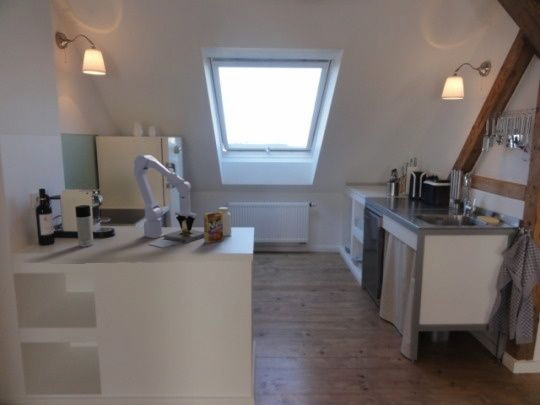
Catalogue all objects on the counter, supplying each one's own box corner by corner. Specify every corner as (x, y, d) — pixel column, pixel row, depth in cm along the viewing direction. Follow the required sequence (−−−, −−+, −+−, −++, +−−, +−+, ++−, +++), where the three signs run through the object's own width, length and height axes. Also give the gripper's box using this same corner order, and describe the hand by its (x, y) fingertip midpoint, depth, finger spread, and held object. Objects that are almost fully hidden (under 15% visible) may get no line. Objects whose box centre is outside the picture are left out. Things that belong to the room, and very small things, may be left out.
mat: (149, 245, 189) (149, 244, 189) (165, 240, 198) (165, 239, 198) (163, 248, 184) (163, 247, 184) (178, 243, 192) (178, 242, 192)
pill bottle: (219, 237, 203) (218, 209, 200) (214, 233, 210) (213, 207, 207) (233, 235, 206) (233, 208, 204) (228, 232, 213) (227, 206, 211)
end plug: (180, 235, 203) (179, 221, 201) (186, 233, 206) (185, 219, 205) (186, 236, 200) (185, 222, 199) (192, 235, 204) (191, 220, 203)
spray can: (96, 244, 192) (93, 205, 189) (86, 247, 186) (82, 207, 182) (86, 242, 194) (82, 204, 191) (75, 246, 188) (71, 206, 184)
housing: (164, 238, 201) (163, 235, 201) (186, 232, 214) (185, 228, 214) (185, 243, 192) (185, 239, 192) (207, 236, 205) (207, 232, 205)
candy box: (207, 243, 191) (206, 214, 188) (204, 241, 194) (202, 212, 192) (223, 241, 196) (222, 212, 193) (219, 239, 199) (218, 210, 197)
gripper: (169, 204, 201) (171, 229, 203) (189, 207, 193) (190, 233, 196) (179, 202, 207) (180, 226, 209) (199, 205, 199) (200, 230, 201)
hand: (186, 229), depth 203 cm, fingers closed on end plug, 4 cm apart
